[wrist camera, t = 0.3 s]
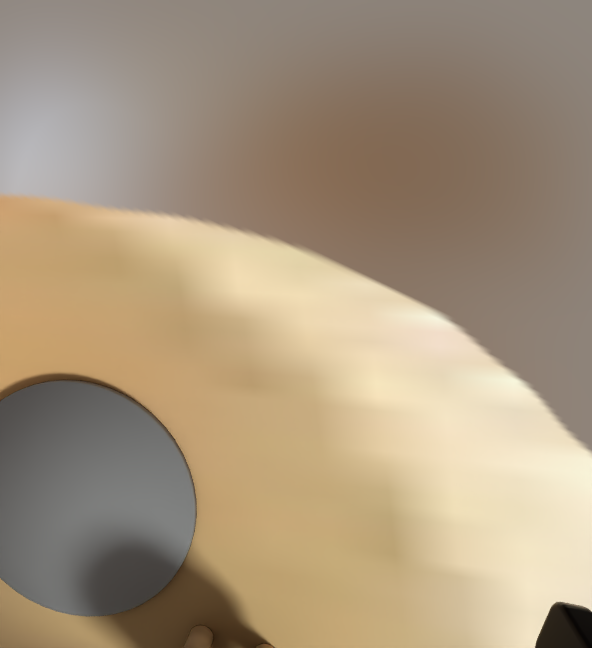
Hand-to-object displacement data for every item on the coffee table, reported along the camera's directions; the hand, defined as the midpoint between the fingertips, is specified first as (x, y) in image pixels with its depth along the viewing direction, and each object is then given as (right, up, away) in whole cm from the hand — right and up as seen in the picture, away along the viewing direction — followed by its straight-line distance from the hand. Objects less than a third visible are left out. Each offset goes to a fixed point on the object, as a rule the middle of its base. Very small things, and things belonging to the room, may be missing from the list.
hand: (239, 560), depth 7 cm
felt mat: (-10, -5, +17) cm, 20 cm away
